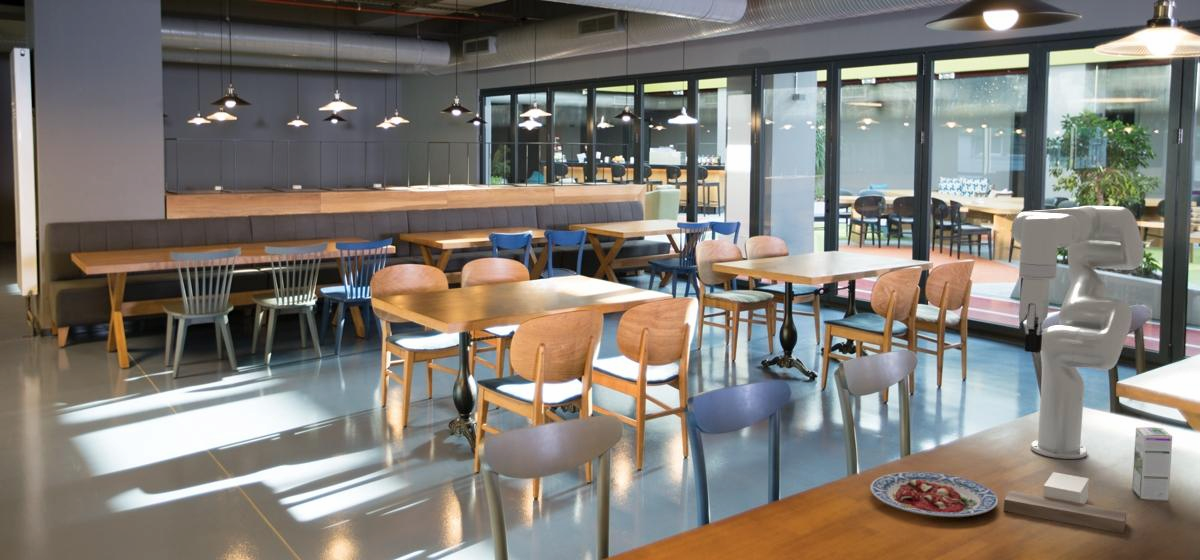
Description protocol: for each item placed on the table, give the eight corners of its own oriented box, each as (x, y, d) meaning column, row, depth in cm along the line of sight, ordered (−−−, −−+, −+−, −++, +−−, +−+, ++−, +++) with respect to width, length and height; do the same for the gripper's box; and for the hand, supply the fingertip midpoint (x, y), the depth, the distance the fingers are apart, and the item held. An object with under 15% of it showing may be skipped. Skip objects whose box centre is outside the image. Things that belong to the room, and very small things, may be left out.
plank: (1009, 501, 205) (1009, 490, 205) (1125, 523, 193) (1126, 511, 193) (1003, 510, 200) (1004, 499, 200) (1123, 533, 188) (1124, 521, 188)
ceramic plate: (848, 503, 206) (848, 490, 205) (903, 472, 224) (903, 460, 224) (966, 536, 188) (967, 522, 188) (1016, 500, 207) (1016, 487, 206)
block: (1051, 494, 210) (1053, 472, 210) (1087, 500, 206) (1088, 478, 206) (1042, 508, 202) (1043, 485, 202) (1078, 515, 198) (1080, 492, 198)
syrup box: (1169, 501, 205) (1174, 435, 203) (1139, 499, 206) (1144, 434, 204) (1159, 491, 211) (1164, 427, 209) (1130, 489, 212) (1135, 426, 210)
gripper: (1025, 266, 223) (1020, 343, 226) (1013, 274, 211) (1009, 355, 214) (1060, 268, 219) (1055, 347, 222) (1050, 276, 207) (1045, 359, 210)
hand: (1032, 351), depth 218 cm, fingers closed
